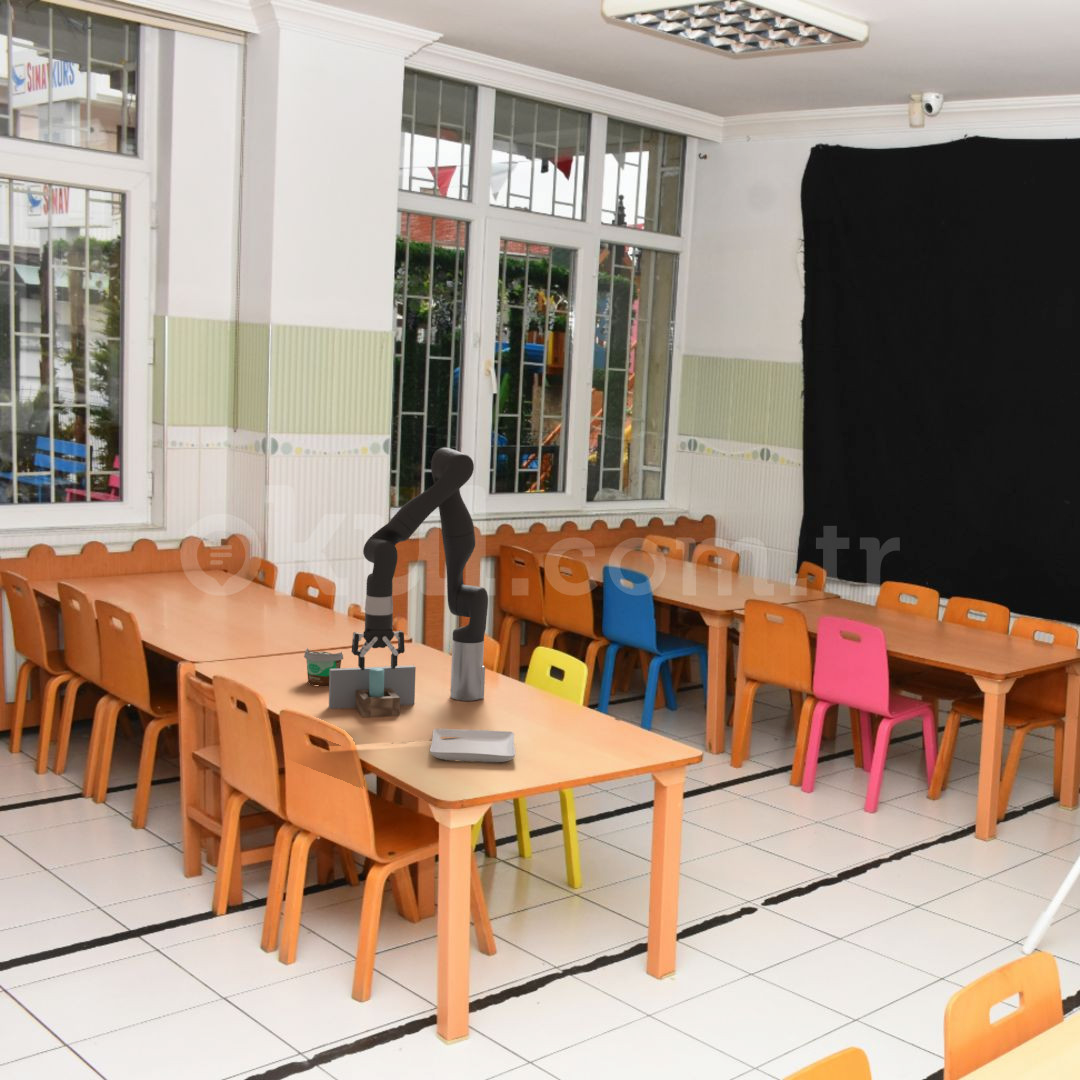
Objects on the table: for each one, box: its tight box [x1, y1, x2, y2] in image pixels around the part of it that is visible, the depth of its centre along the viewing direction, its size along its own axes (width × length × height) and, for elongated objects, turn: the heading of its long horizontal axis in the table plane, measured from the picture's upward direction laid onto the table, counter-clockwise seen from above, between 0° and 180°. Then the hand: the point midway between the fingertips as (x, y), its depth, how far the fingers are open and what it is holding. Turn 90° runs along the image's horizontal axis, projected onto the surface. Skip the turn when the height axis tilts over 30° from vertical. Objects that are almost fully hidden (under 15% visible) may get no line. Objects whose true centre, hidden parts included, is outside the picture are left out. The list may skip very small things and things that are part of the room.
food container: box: [303, 647, 344, 687], centre depth 389 cm, size 12×6×10 cm, turn 73°
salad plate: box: [429, 728, 516, 763], centre depth 331 cm, size 21×21×3 cm
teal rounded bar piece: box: [369, 668, 384, 697], centre depth 358 cm, size 4×4×12 cm
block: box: [355, 688, 401, 718], centre depth 359 cm, size 10×10×5 cm
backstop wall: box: [328, 664, 417, 710], centre depth 364 cm, size 24×2×12 cm, turn 110°
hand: (377, 668), depth 358 cm, fingers open, 8 cm apart
